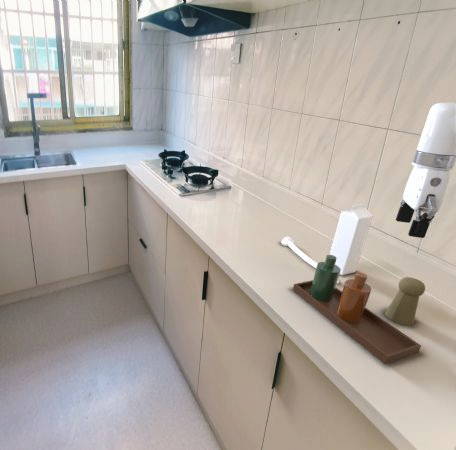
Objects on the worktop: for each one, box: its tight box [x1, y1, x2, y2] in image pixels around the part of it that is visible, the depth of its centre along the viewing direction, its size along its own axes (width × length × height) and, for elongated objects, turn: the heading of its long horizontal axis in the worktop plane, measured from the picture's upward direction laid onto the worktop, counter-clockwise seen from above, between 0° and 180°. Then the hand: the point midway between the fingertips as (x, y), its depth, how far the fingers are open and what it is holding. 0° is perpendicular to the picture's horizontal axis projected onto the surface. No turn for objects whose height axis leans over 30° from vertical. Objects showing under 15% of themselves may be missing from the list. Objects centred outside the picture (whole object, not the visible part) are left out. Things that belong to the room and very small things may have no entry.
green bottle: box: [310, 254, 341, 302], centre depth 90 cm, size 6×6×12 cm
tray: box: [292, 279, 422, 365], centre depth 84 cm, size 10×28×2 cm, turn 20°
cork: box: [385, 276, 426, 326], centre depth 83 cm, size 6×6×11 cm
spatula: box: [281, 236, 340, 285], centre depth 110 cm, size 28×4×3 cm, turn 15°
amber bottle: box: [336, 271, 372, 323], centre depth 82 cm, size 6×6×12 cm
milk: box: [329, 202, 374, 276], centre depth 102 cm, size 6×6×22 cm
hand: (408, 228), depth 84 cm, fingers open, 9 cm apart
